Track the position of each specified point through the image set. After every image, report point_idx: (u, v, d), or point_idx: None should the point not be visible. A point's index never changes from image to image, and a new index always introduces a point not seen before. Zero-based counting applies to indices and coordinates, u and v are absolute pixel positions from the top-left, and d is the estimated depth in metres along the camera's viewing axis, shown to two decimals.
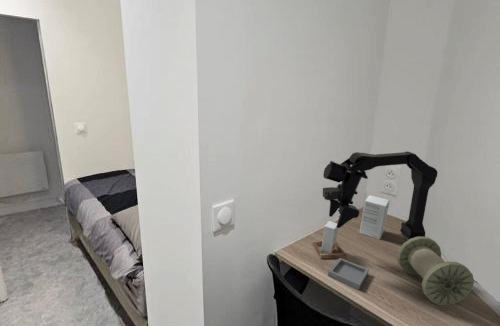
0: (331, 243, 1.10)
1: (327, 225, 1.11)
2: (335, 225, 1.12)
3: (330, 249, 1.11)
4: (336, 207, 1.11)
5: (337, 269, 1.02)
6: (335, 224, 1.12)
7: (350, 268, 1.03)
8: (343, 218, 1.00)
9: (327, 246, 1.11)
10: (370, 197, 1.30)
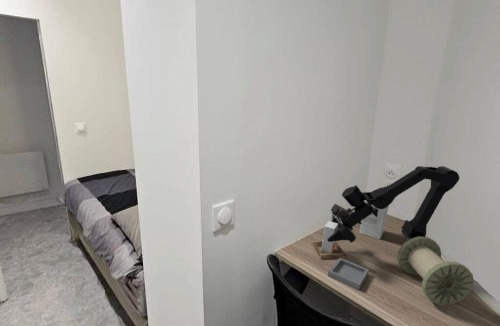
0: (331, 243, 1.10)
1: (327, 225, 1.11)
2: (335, 225, 1.12)
3: (330, 249, 1.11)
4: None
5: (337, 269, 1.02)
6: (335, 224, 1.12)
7: (350, 268, 1.03)
8: (337, 236, 1.08)
9: (327, 246, 1.11)
10: None
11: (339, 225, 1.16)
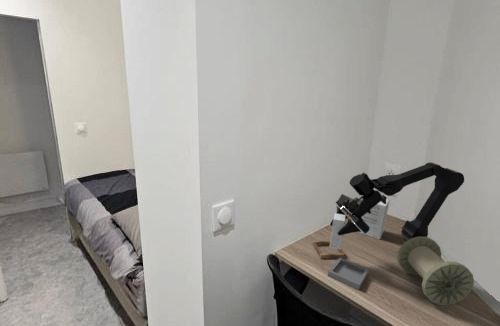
0: (341, 236, 1.03)
1: (335, 218, 1.03)
2: (343, 217, 1.04)
3: (340, 243, 1.03)
4: None
5: (337, 269, 1.02)
6: (343, 216, 1.05)
7: (350, 268, 1.03)
8: (348, 228, 1.00)
9: (336, 240, 1.04)
10: None
11: None
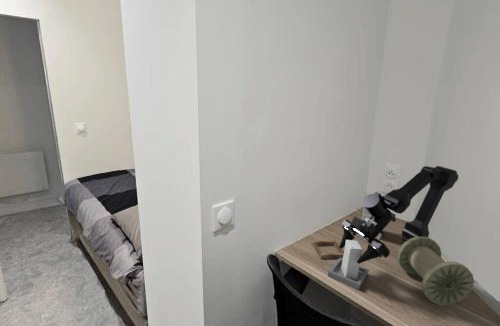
0: (358, 265, 0.96)
1: (351, 246, 0.96)
2: (357, 244, 0.97)
3: (356, 272, 0.96)
4: None
5: (337, 269, 1.02)
6: (356, 242, 0.98)
7: None
8: (368, 254, 0.93)
9: (353, 270, 0.96)
10: None
11: (352, 237, 1.03)
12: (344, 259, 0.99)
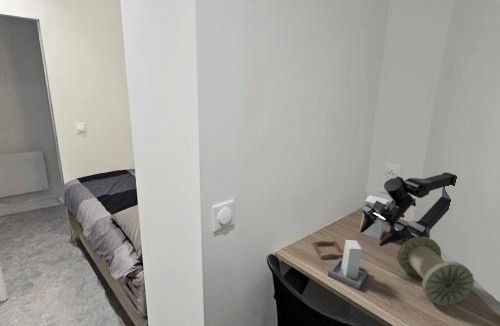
0: (358, 265, 0.96)
1: (351, 246, 0.96)
2: (357, 243, 0.97)
3: (356, 272, 0.96)
4: (369, 225, 1.05)
5: (337, 269, 1.02)
6: (355, 242, 0.98)
7: None
8: (391, 237, 0.95)
9: (353, 270, 0.96)
10: (370, 197, 1.30)
11: (372, 221, 1.05)
12: (344, 259, 0.99)
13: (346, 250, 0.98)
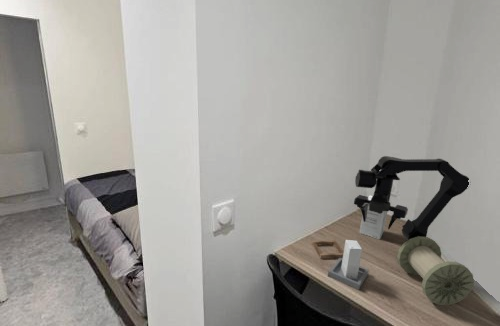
0: (358, 265, 0.96)
1: (351, 246, 0.96)
2: (357, 243, 0.97)
3: (356, 272, 0.96)
4: (366, 211, 1.14)
5: (337, 269, 1.02)
6: (355, 242, 0.98)
7: None
8: None
9: (353, 270, 0.96)
10: (370, 197, 1.30)
11: (367, 205, 1.14)
12: (344, 259, 0.99)
13: (346, 250, 0.98)
